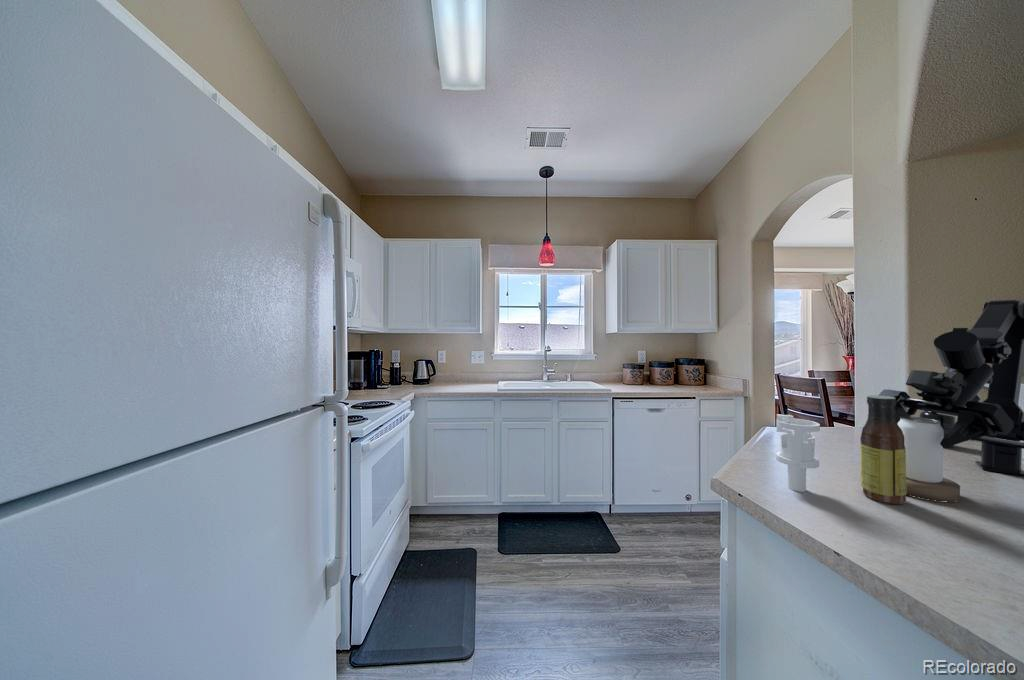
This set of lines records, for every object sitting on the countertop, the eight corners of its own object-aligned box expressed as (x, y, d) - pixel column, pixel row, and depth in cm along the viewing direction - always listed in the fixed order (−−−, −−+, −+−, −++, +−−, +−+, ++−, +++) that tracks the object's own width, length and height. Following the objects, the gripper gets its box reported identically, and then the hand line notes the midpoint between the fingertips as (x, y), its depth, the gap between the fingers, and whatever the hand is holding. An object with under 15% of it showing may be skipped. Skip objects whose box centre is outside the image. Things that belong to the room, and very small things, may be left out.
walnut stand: (877, 475, 84) (877, 464, 84) (951, 488, 77) (952, 476, 77) (883, 491, 75) (883, 479, 75) (967, 508, 68) (967, 494, 68)
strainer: (775, 479, 82) (776, 411, 81) (816, 486, 78) (818, 415, 77) (775, 490, 76) (776, 417, 76) (820, 499, 72) (821, 422, 71)
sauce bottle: (893, 494, 74) (895, 395, 74) (915, 508, 68) (917, 400, 68) (852, 489, 76) (854, 393, 76) (870, 502, 70) (872, 398, 70)
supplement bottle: (911, 441, 110) (912, 401, 110) (932, 440, 111) (933, 400, 110) (940, 448, 103) (941, 405, 103) (962, 448, 104) (963, 405, 104)
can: (952, 485, 72) (954, 424, 72) (912, 482, 74) (914, 422, 73) (923, 473, 78) (925, 416, 78) (887, 470, 80) (888, 415, 80)
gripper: (885, 354, 85) (842, 403, 84) (1003, 360, 67) (950, 423, 65) (913, 387, 86) (871, 436, 85) (1036, 402, 68) (986, 465, 67)
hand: (913, 439), depth 76 cm, fingers open, 9 cm apart
